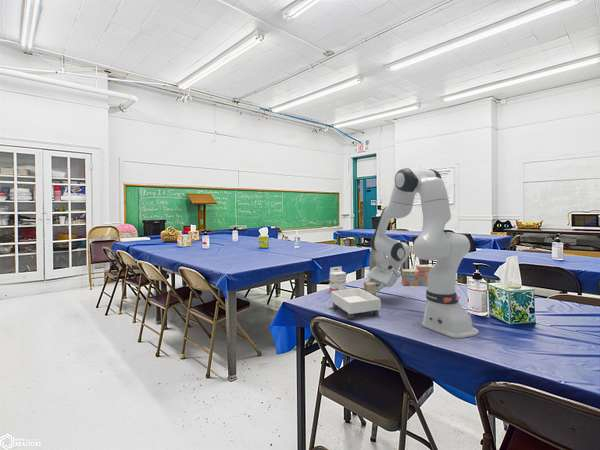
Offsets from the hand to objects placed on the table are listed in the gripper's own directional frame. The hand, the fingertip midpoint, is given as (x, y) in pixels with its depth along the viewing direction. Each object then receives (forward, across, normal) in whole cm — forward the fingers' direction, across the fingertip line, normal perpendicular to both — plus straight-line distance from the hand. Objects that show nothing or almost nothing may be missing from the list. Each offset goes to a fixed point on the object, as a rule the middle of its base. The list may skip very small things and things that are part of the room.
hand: (372, 288), depth 174 cm
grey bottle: (-9, -27, +20) cm, 35 cm away
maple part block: (+6, 0, +4) cm, 7 cm away
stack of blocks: (-27, -17, +37) cm, 49 cm away
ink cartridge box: (+12, -22, -2) cm, 25 cm away
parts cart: (+16, +11, -7) cm, 21 cm away
